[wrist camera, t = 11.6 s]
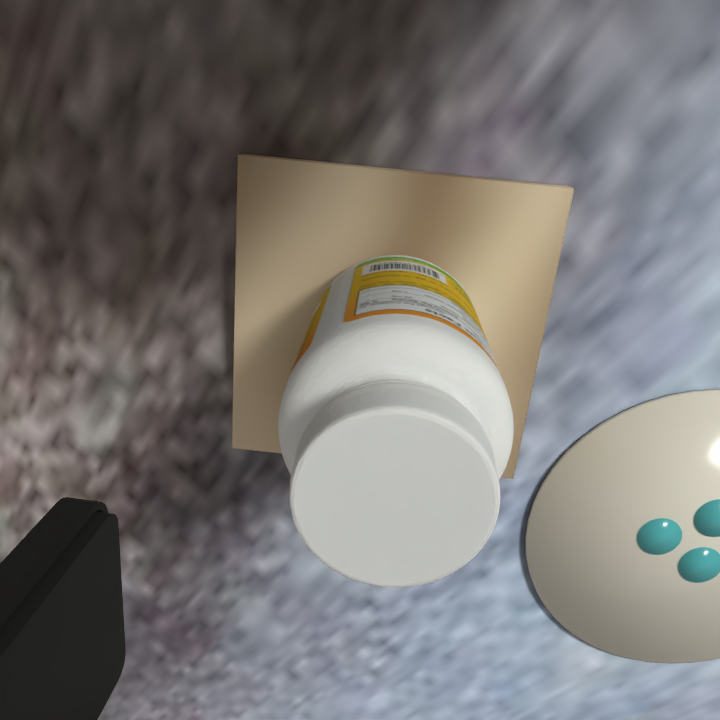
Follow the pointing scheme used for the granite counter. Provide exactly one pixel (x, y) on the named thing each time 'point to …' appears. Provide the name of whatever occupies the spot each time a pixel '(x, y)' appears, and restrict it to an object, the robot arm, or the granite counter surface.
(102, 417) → the granite counter surface
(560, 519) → the coaster
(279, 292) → the wooden mat
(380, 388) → the supplement bottle
